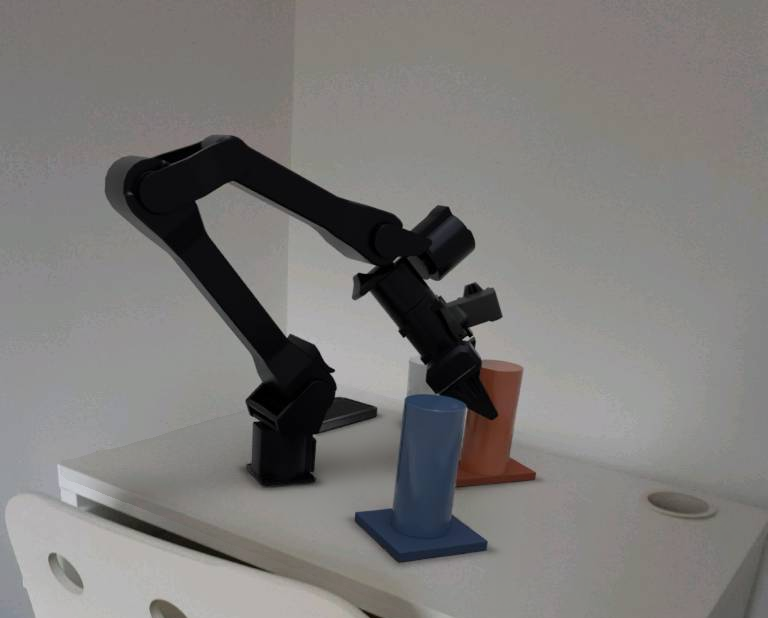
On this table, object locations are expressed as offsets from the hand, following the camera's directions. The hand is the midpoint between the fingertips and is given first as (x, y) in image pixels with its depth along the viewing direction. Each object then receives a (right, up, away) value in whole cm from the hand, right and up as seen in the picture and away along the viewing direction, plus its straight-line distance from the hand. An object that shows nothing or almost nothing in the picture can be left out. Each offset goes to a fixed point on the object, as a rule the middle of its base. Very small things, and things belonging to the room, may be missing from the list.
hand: (492, 407), depth 98 cm
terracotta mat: (-1, -8, +3) cm, 9 cm away
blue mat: (-10, -15, -16) cm, 24 cm away
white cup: (-7, -1, +20) cm, 21 cm away
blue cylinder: (-9, -14, -16) cm, 23 cm away
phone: (-21, +1, +20) cm, 29 cm away
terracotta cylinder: (-1, -7, +3) cm, 8 cm away
